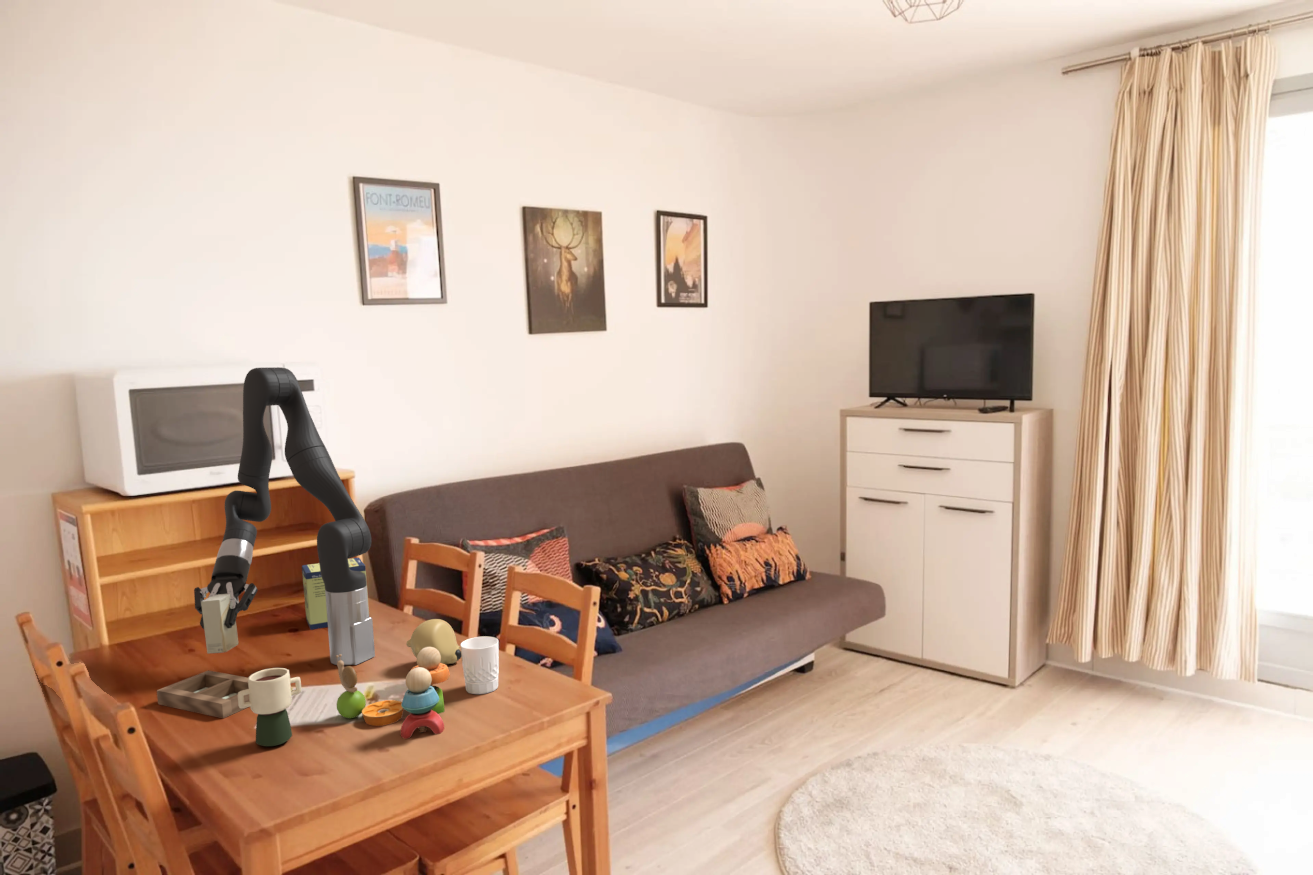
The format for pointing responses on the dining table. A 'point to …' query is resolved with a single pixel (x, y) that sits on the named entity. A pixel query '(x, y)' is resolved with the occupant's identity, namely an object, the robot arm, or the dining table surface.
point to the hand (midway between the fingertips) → (216, 627)
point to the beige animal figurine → (436, 640)
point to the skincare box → (218, 624)
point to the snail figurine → (349, 692)
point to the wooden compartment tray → (206, 694)
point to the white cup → (480, 664)
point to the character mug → (270, 704)
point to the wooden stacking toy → (415, 698)
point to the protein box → (320, 592)
